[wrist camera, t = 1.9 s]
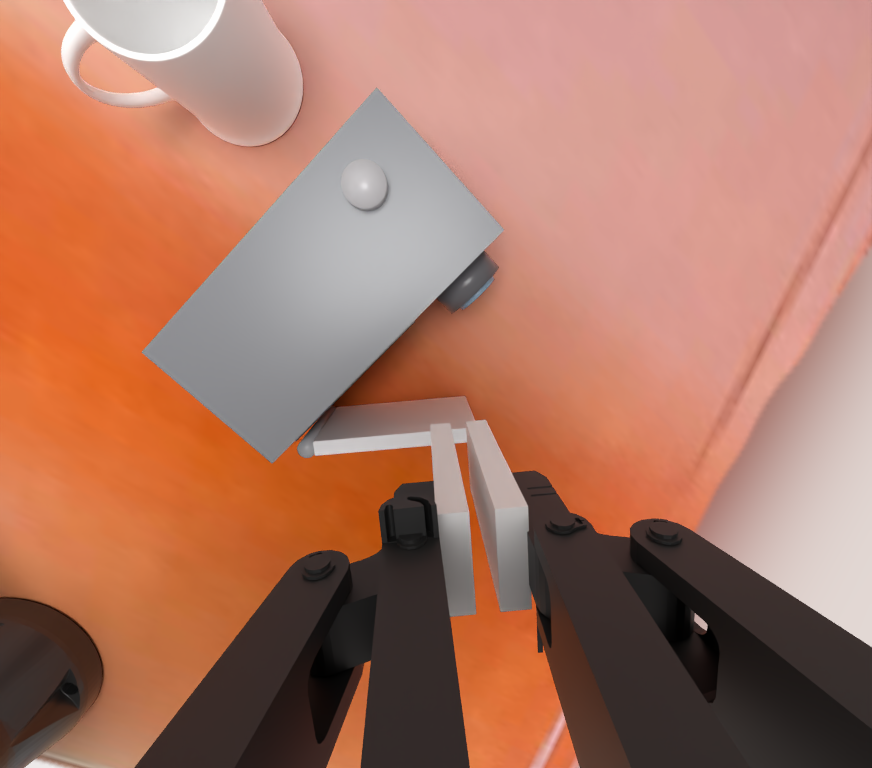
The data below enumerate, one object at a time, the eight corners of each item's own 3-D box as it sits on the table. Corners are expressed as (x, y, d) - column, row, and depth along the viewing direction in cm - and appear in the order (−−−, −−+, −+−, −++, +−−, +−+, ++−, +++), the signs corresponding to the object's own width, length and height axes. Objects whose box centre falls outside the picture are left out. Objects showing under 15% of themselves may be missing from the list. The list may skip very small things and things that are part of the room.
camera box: (328, 432, 37) (291, 490, 26) (219, 334, 35) (130, 354, 24) (497, 264, 35) (531, 254, 24) (390, 147, 32) (374, 78, 22)
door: (327, 430, 37) (300, 471, 29) (324, 406, 37) (295, 441, 28) (466, 418, 37) (479, 455, 29) (465, 394, 37) (477, 425, 29)
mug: (179, 181, 32) (43, 121, 21) (121, 61, 31) (-65, -80, 19) (322, 121, 32) (265, 24, 20) (272, -6, 30) (176, -193, 18)
